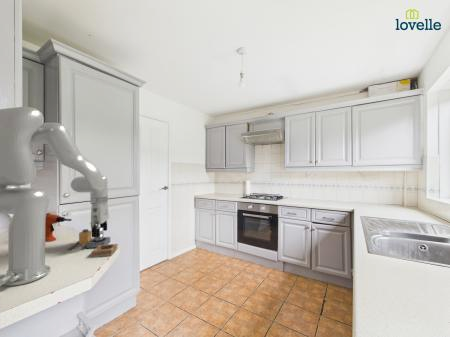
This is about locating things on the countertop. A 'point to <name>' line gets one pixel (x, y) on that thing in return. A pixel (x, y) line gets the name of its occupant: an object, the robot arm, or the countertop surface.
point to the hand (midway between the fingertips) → (99, 233)
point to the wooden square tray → (104, 250)
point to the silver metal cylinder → (100, 238)
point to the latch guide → (76, 245)
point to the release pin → (84, 237)
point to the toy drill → (49, 227)
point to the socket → (97, 243)
